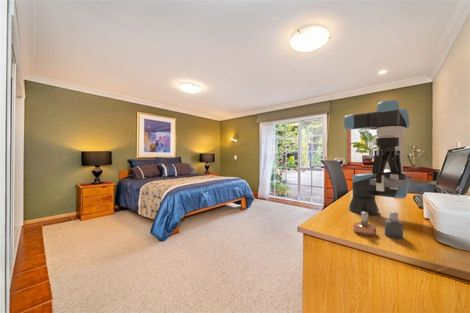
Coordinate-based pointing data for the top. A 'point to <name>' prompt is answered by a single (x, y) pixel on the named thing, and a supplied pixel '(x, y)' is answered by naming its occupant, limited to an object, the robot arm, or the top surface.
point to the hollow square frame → (390, 182)
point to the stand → (394, 227)
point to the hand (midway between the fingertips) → (387, 190)
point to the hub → (364, 226)
